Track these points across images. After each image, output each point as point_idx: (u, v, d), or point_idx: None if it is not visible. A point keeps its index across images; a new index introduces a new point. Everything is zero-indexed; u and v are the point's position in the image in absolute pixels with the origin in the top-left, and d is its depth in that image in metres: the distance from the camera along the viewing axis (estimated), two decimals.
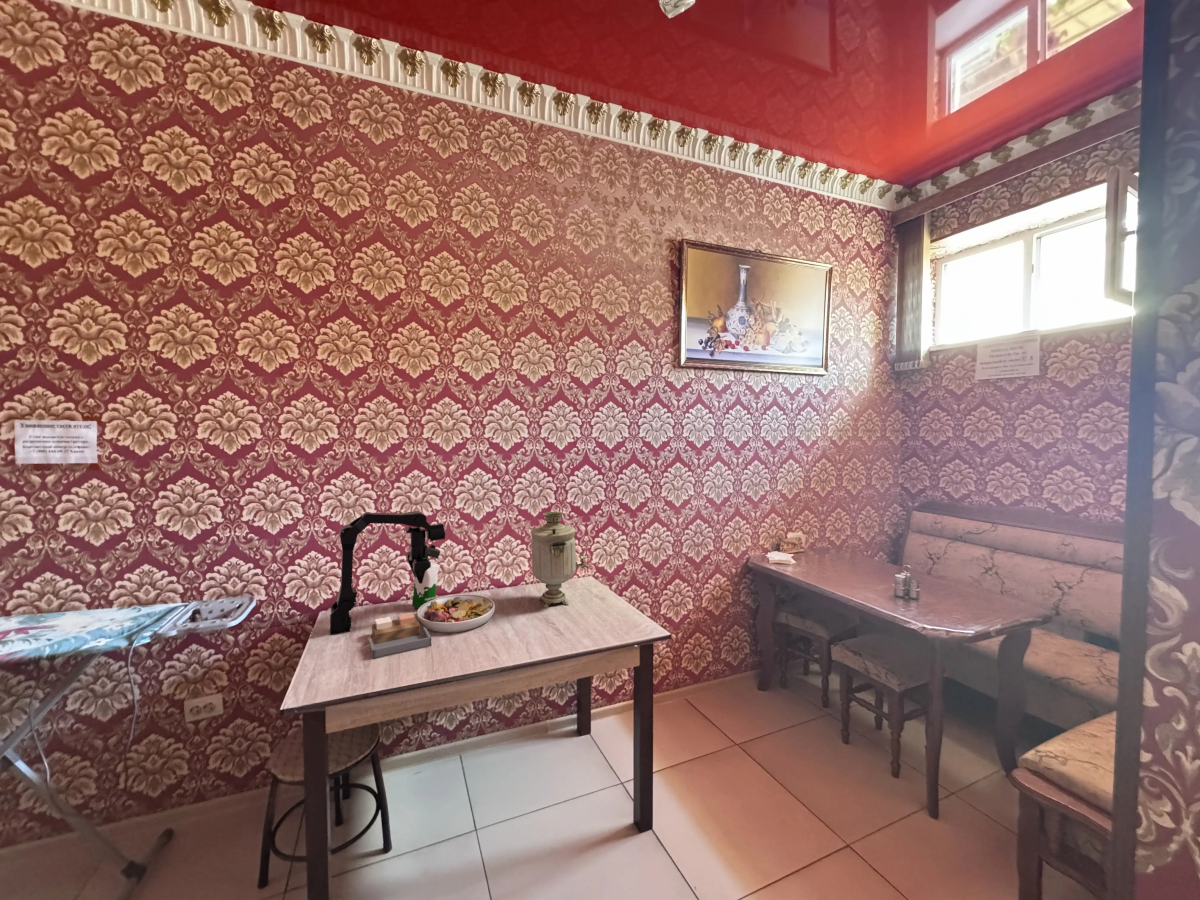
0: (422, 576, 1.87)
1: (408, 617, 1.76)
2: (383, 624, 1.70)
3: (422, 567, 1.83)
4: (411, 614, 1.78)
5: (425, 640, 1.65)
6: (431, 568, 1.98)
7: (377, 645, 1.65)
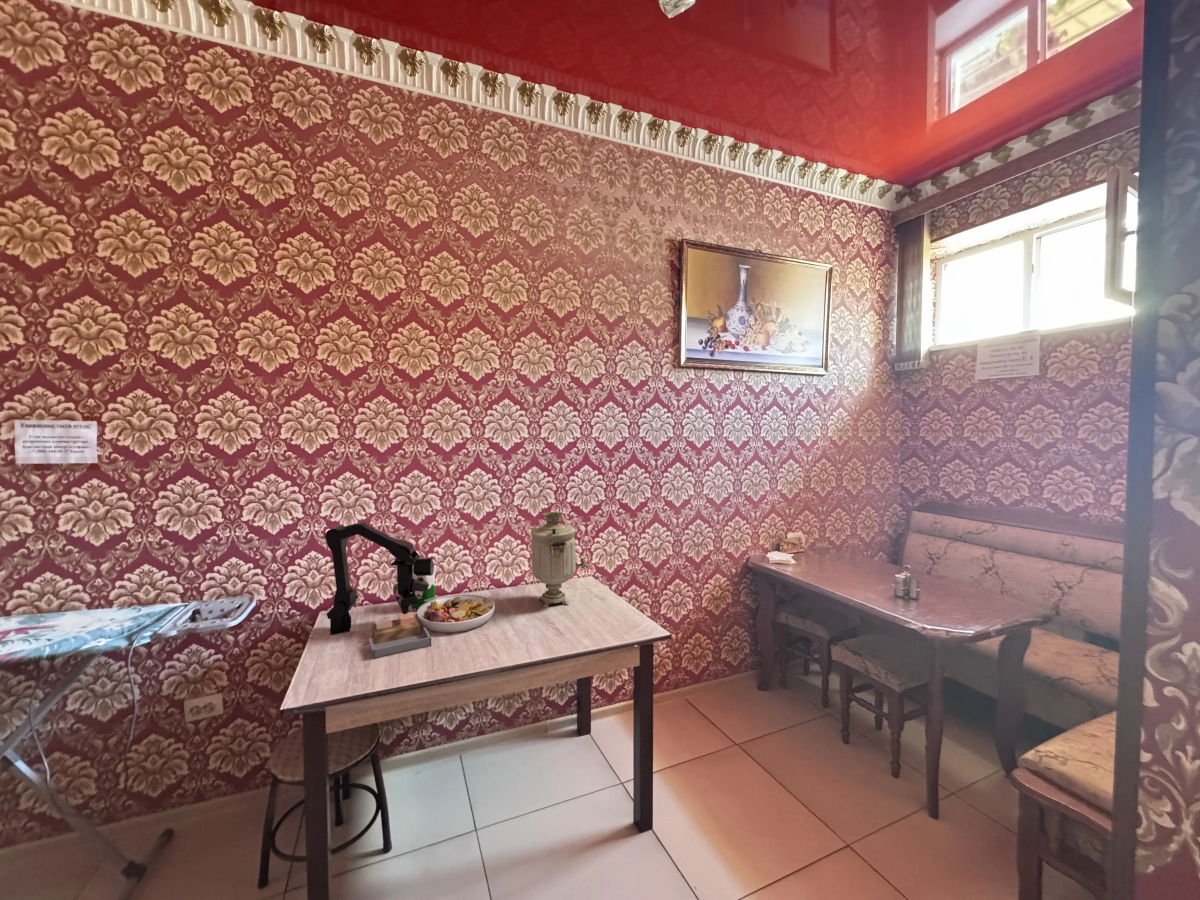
0: (407, 608, 1.79)
1: (408, 617, 1.76)
2: (383, 624, 1.70)
3: (409, 604, 1.71)
4: (412, 614, 1.78)
5: (425, 640, 1.65)
6: None
7: (377, 645, 1.65)
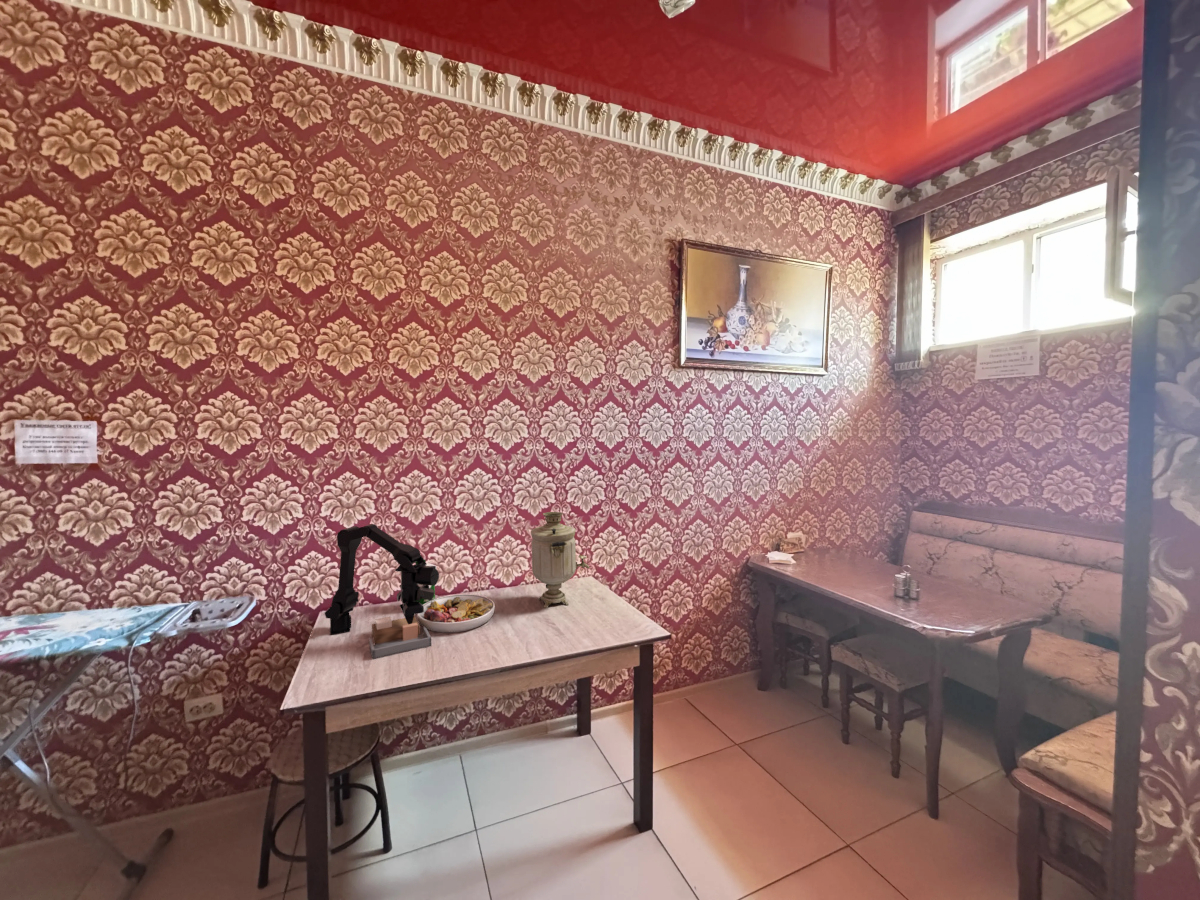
0: (412, 617, 1.71)
1: (411, 636, 1.70)
2: (383, 624, 1.70)
3: (414, 612, 1.63)
4: (416, 630, 1.70)
5: (425, 640, 1.65)
6: None
7: (377, 645, 1.65)
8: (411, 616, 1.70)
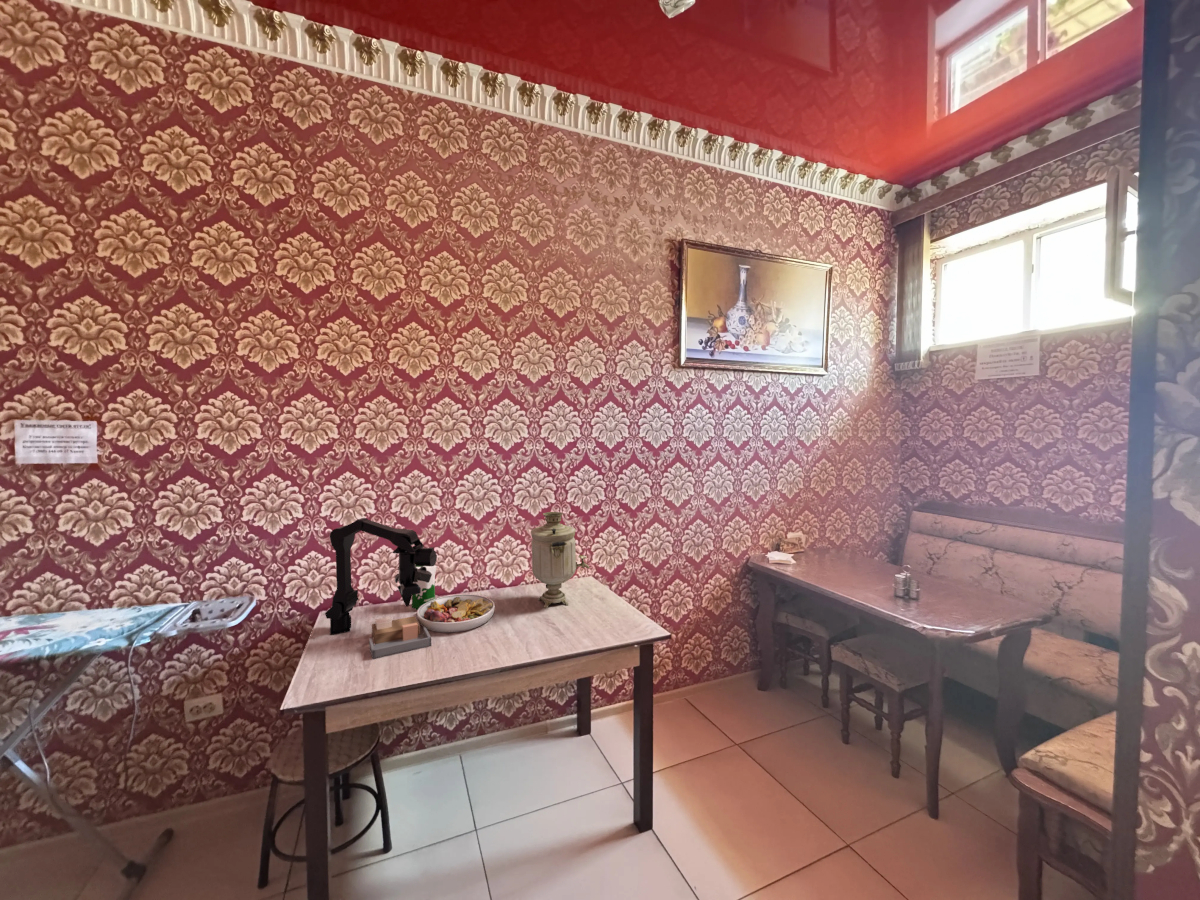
0: (409, 598, 1.73)
1: (411, 636, 1.70)
2: (383, 624, 1.70)
3: (411, 593, 1.66)
4: (416, 630, 1.71)
5: (425, 640, 1.65)
6: (428, 569, 1.97)
7: (377, 645, 1.65)
8: (408, 597, 1.73)
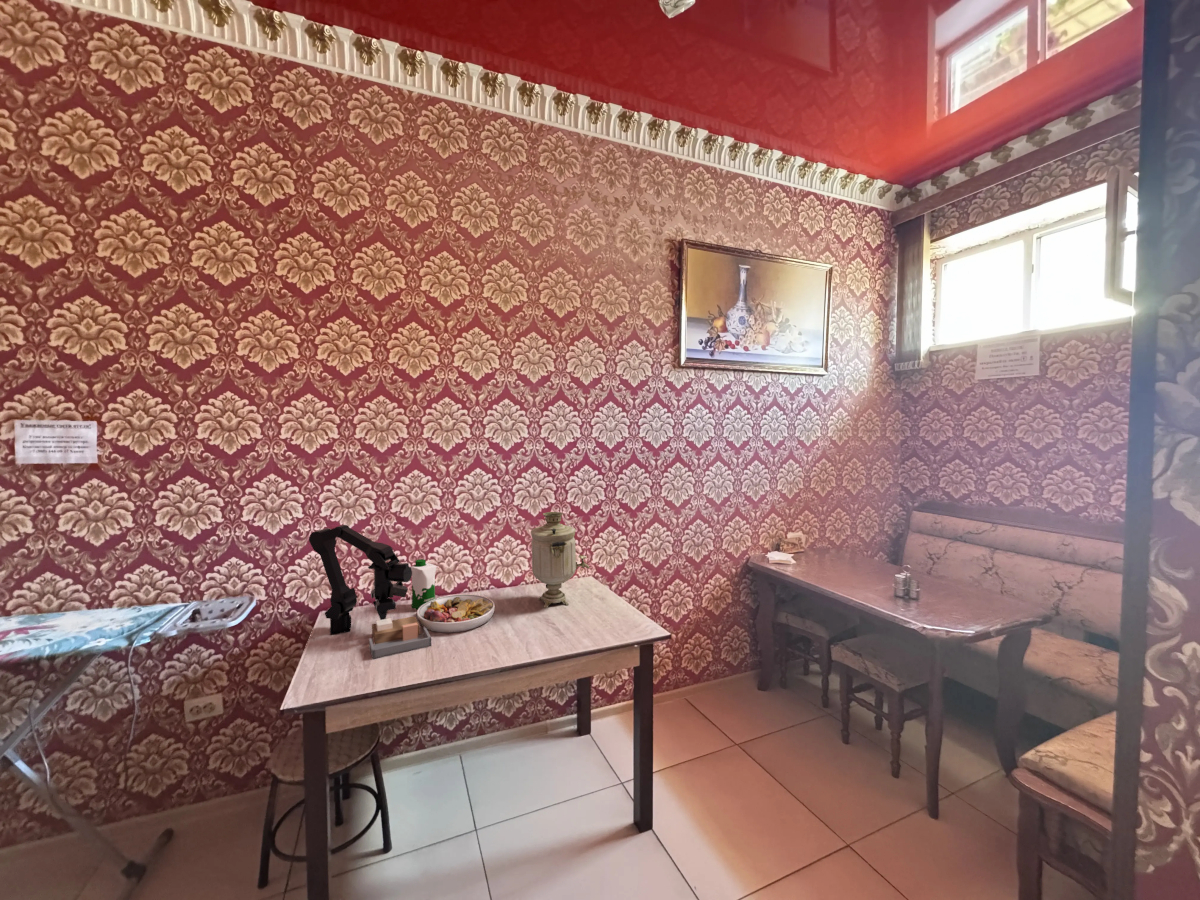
0: (385, 614, 1.73)
1: (411, 636, 1.70)
2: (384, 626, 1.69)
3: (386, 609, 1.66)
4: (416, 630, 1.71)
5: (425, 640, 1.65)
6: (428, 569, 1.97)
7: (377, 645, 1.65)
8: (384, 613, 1.73)
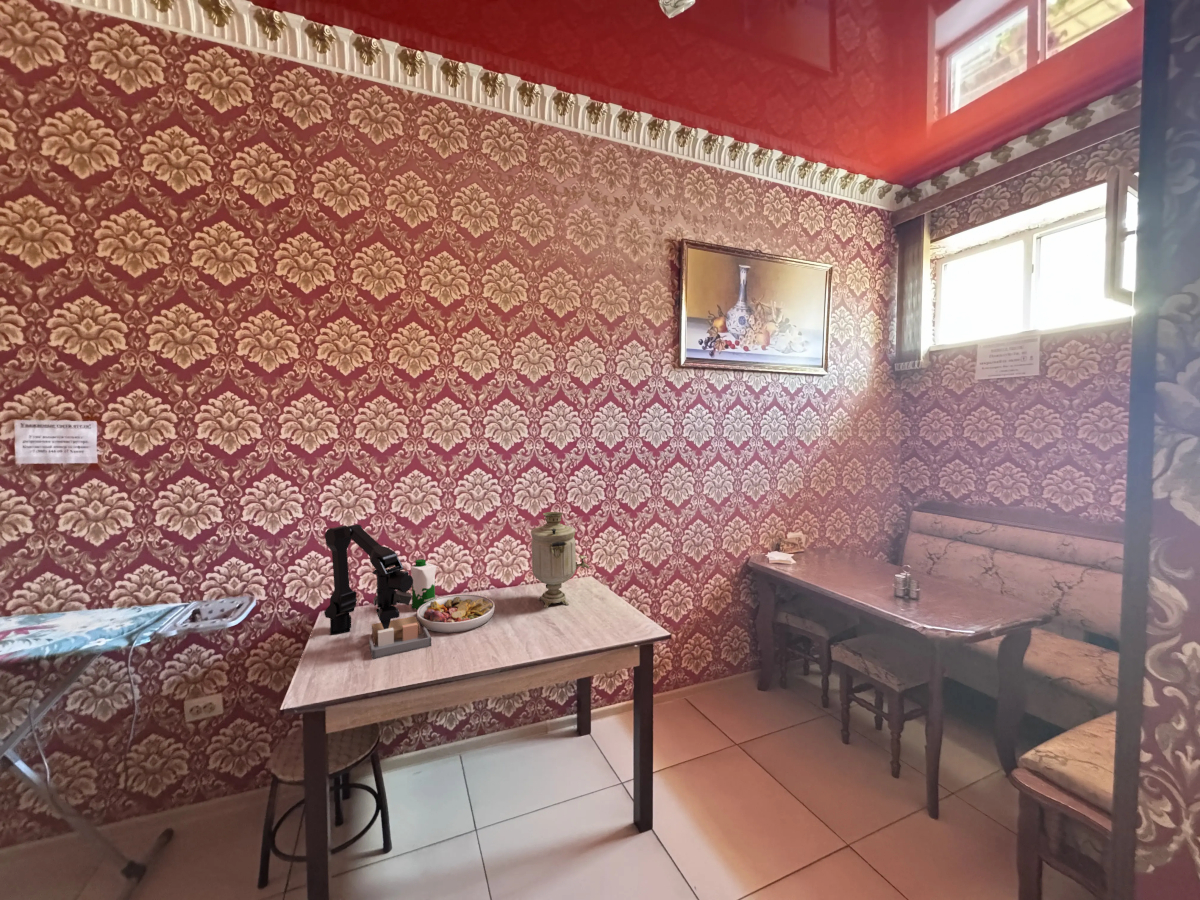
0: (388, 622, 1.66)
1: (411, 636, 1.70)
2: None
3: (389, 617, 1.59)
4: (416, 630, 1.71)
5: (425, 640, 1.65)
6: (428, 569, 1.97)
7: (377, 645, 1.65)
8: (387, 621, 1.66)
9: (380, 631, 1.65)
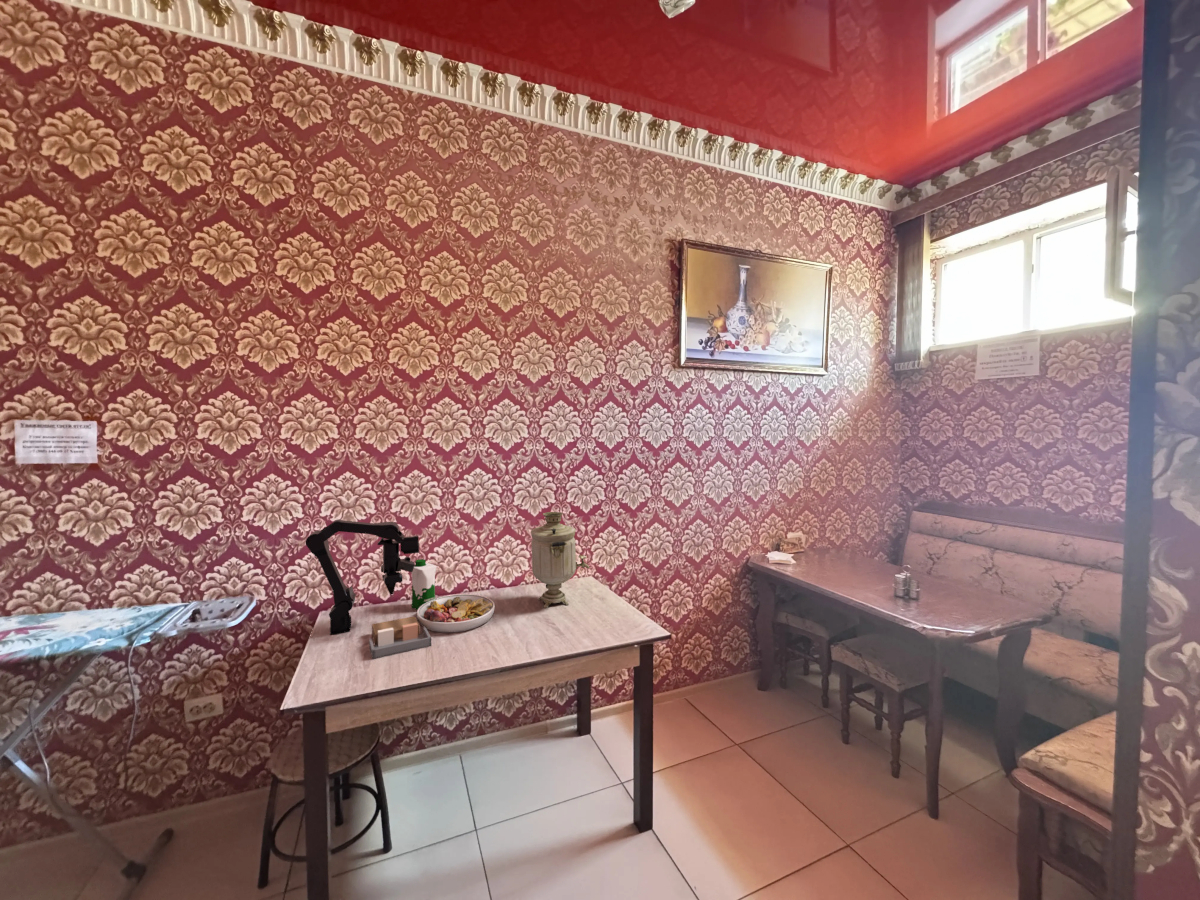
0: (393, 587, 1.82)
1: (411, 636, 1.70)
2: None
3: (393, 581, 1.74)
4: (416, 630, 1.71)
5: (425, 640, 1.65)
6: (428, 569, 1.97)
7: (377, 645, 1.65)
8: (392, 586, 1.82)
9: (380, 631, 1.65)
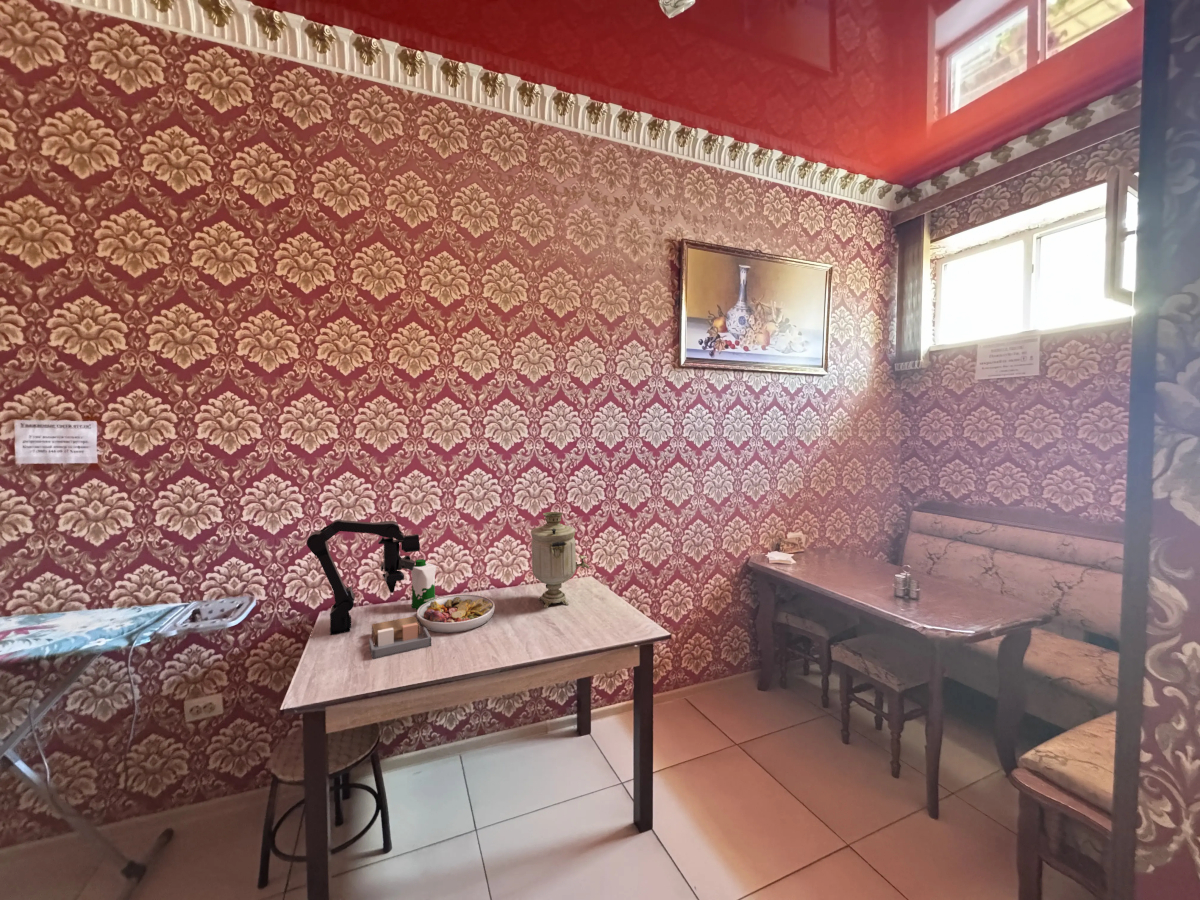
0: (393, 585, 1.83)
1: (411, 636, 1.70)
2: None
3: (395, 580, 1.76)
4: (416, 630, 1.71)
5: (425, 640, 1.65)
6: (428, 569, 1.97)
7: (377, 645, 1.65)
8: (393, 584, 1.83)
9: (380, 631, 1.65)
